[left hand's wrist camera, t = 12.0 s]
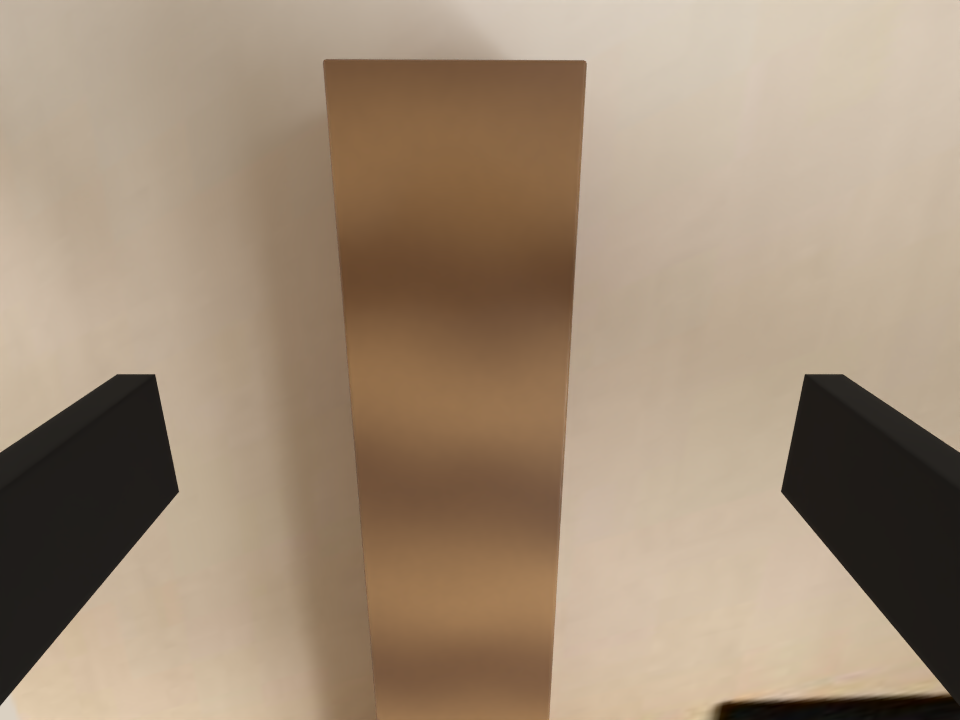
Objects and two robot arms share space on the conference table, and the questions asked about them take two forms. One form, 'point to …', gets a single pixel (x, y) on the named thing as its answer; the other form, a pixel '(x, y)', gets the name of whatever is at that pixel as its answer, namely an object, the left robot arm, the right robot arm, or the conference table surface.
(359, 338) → the beam
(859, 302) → the conference table surface
